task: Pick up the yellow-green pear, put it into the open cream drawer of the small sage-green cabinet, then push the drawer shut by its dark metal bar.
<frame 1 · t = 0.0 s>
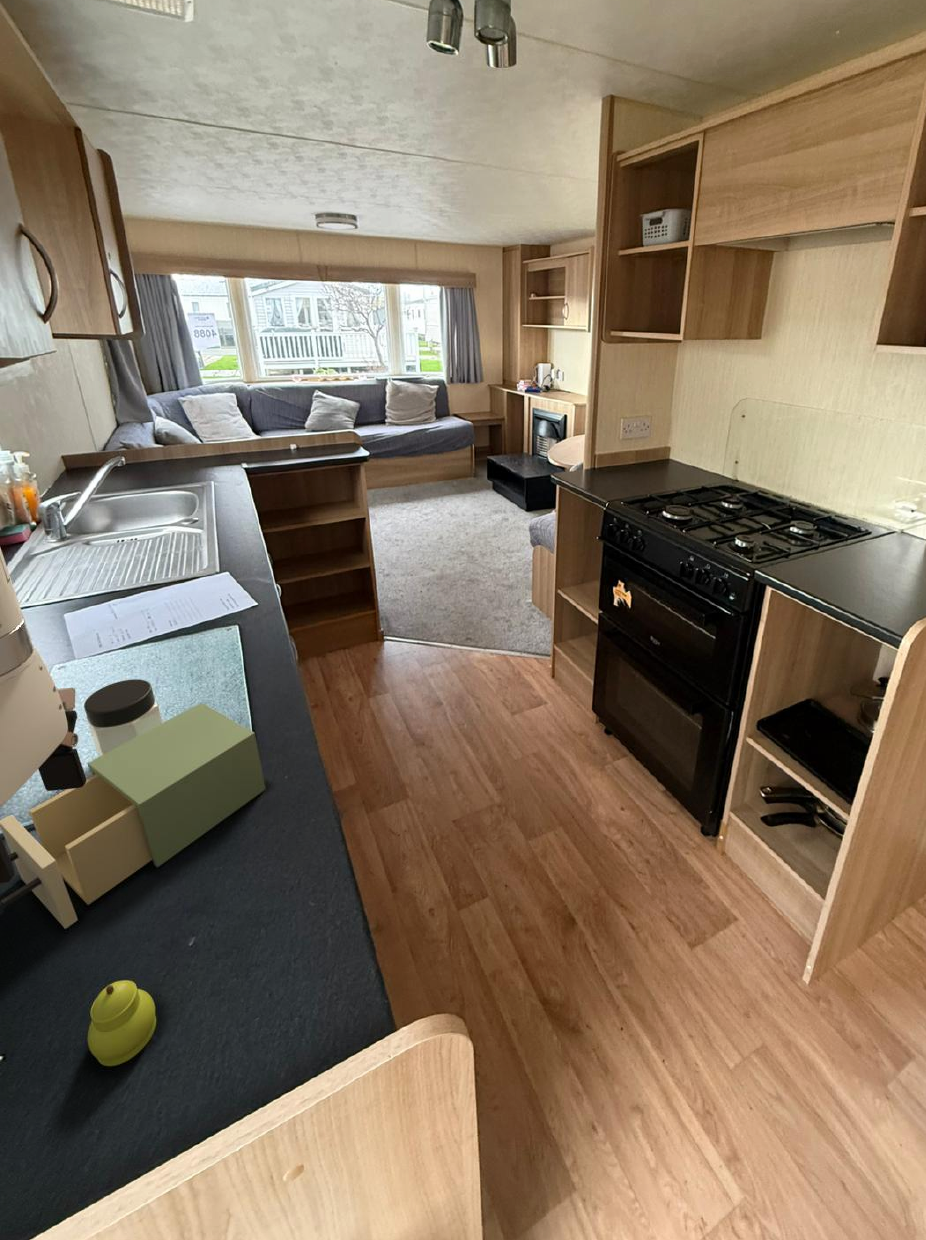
hand: (32, 829, 49), 22 cm above the counter, tool pointing down, fingers open, 9 cm apart
cabinet: (190, 810, 78), on the counter
drawer: (76, 845, 66), point 5 cm above the counter, slide at 8.0 cm
pear: (129, 1041, 53), on the counter
jar: (137, 762, 87), on the counter
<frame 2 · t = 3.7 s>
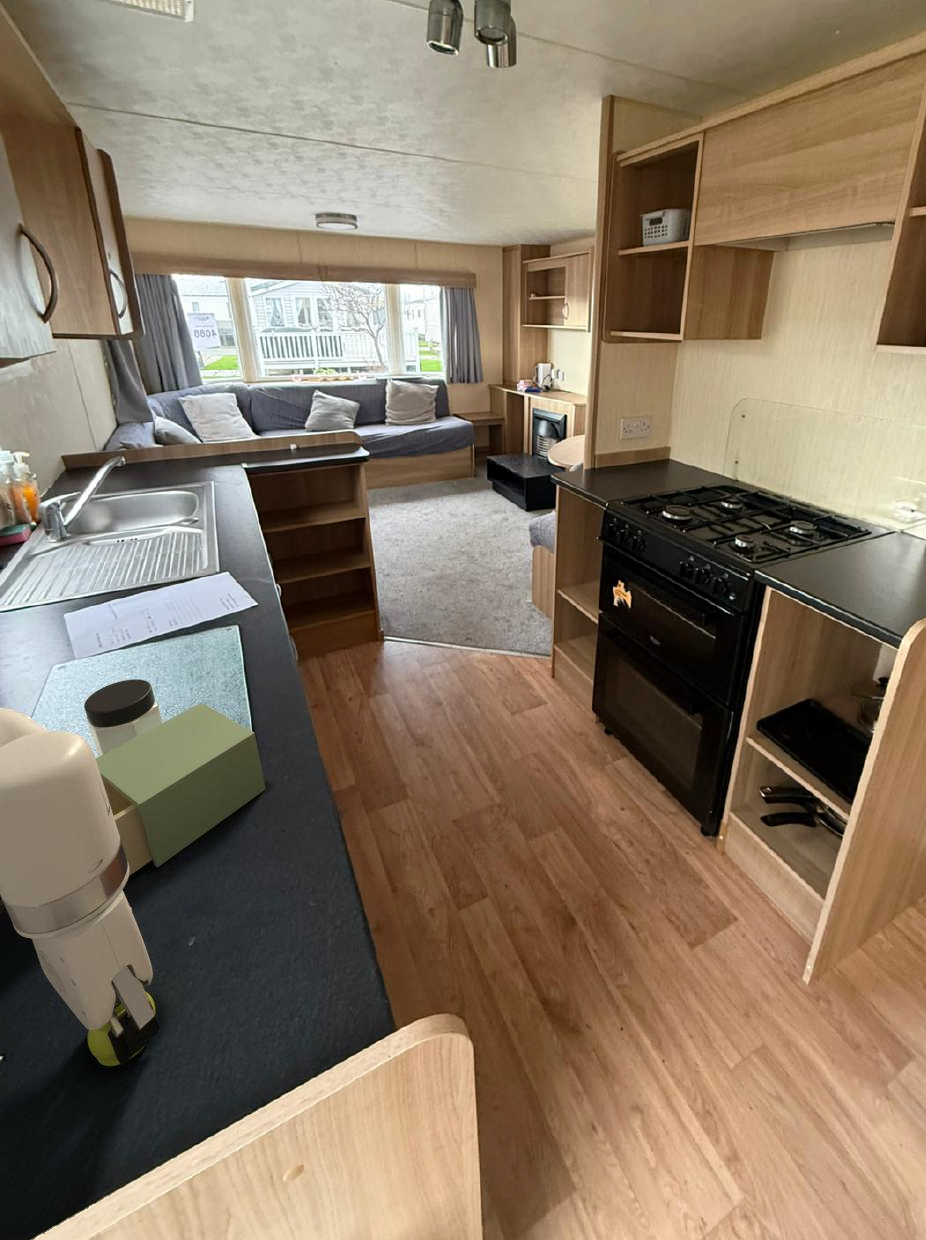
hand: (122, 1024, 52), 2 cm above the counter, tool pointing down, fingers closed on pear, 5 cm apart
pear: (129, 1041, 53), on the counter, touching gripper
everything else where it was.
when the fingers open (9 cm above the counter, at t = 11.2 s): pear stays where it is, resting on drawer.
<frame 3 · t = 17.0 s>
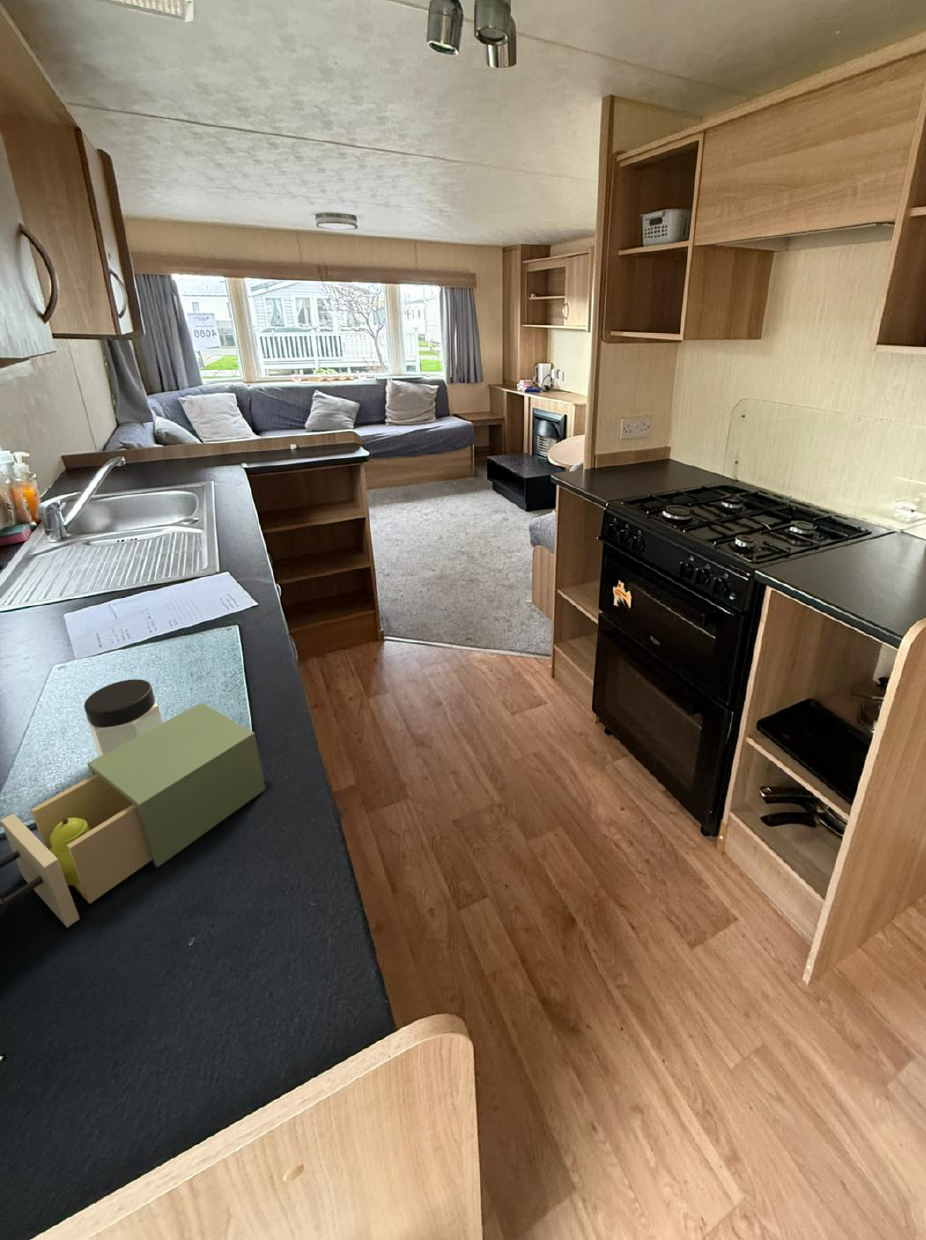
drawer: (78, 844, 66), point 5 cm above the counter, slide at 7.8 cm, touching gripper, pear
pear: (81, 867, 67), point 2 cm above the counter, touching drawer
everything else where it was.
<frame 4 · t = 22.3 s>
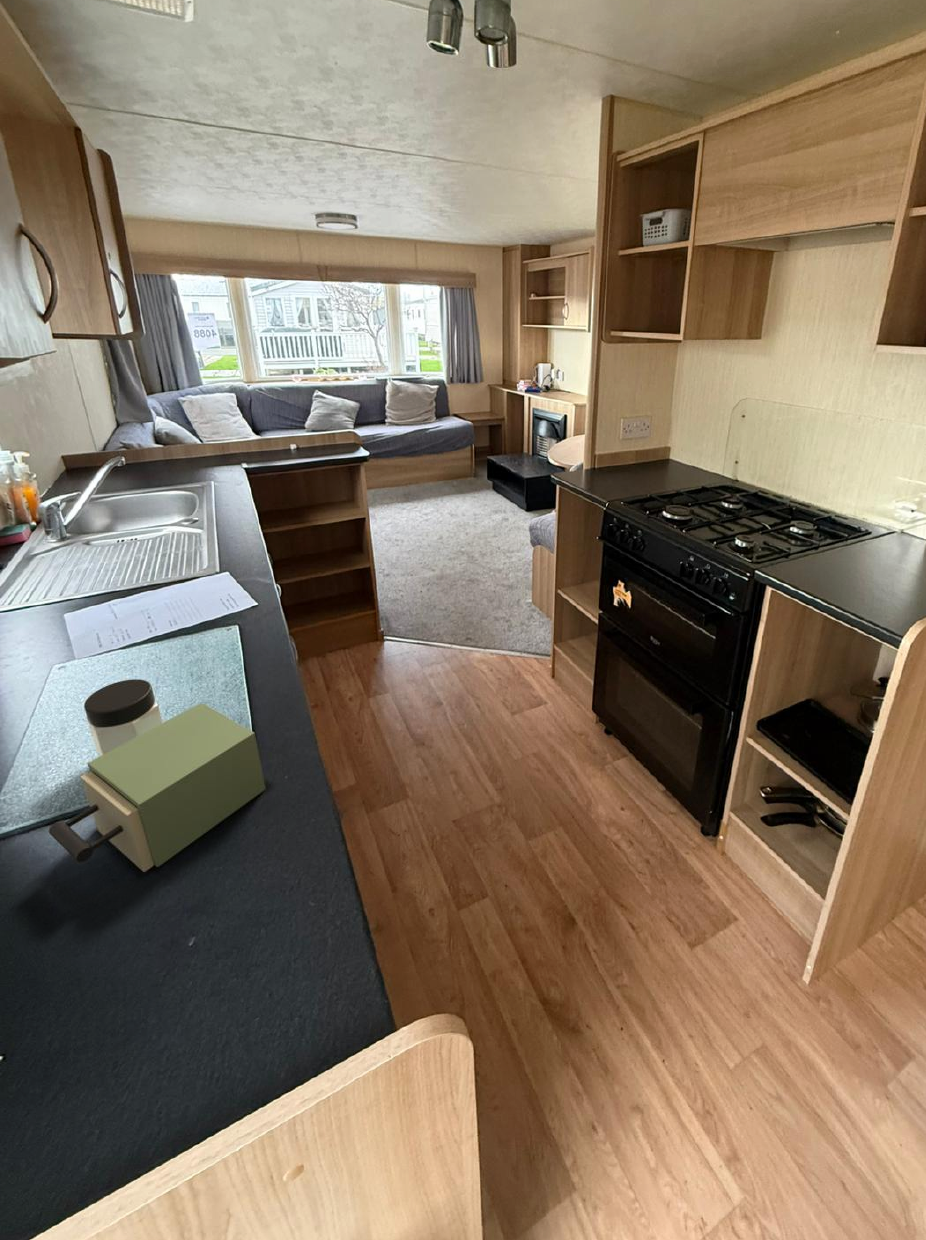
drawer: (149, 800, 73), point 5 cm above the counter, slide at 0.0 cm, touching cabinet, pear
pear: (151, 822, 74), point 2 cm above the counter, touching drawer
everything else where it was.
at the end: pear inside the target area in the cabinet (4.5 cm from its centre), point 2.0 cm above the cabinet's base; drawer slide at 0.0 cm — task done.
